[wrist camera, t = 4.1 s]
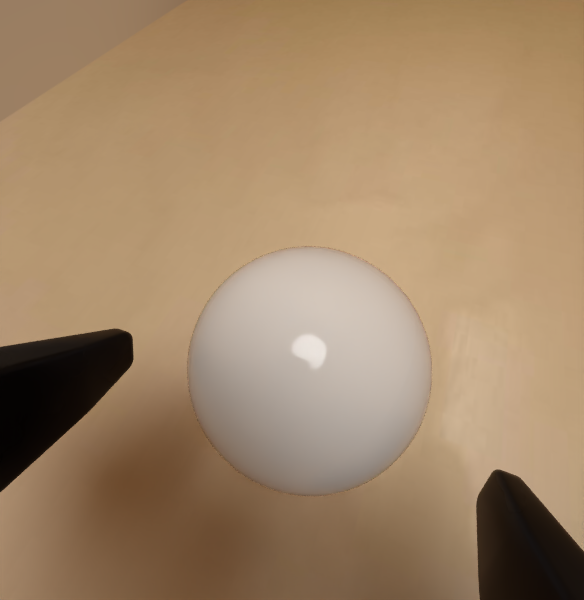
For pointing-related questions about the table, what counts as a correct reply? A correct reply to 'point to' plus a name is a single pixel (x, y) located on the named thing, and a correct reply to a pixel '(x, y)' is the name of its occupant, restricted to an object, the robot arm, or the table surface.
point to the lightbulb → (309, 371)
